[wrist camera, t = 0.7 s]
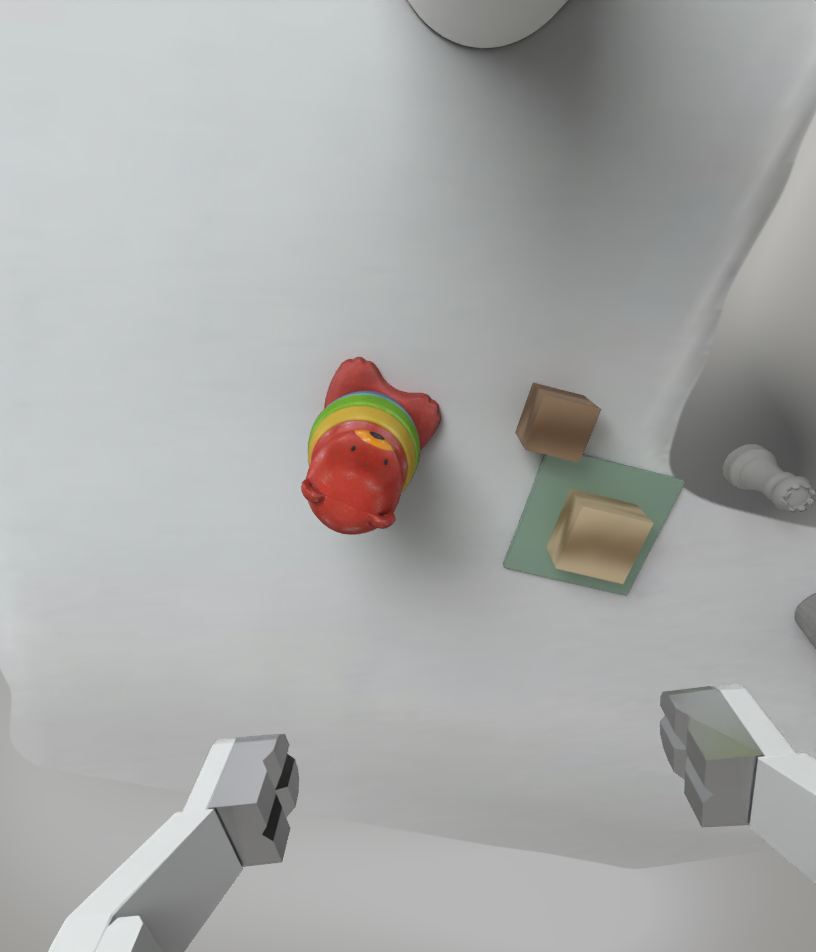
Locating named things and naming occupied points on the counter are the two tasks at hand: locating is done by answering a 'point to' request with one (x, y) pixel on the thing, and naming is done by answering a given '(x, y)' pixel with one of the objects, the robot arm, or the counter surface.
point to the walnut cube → (557, 422)
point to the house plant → (807, 618)
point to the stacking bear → (365, 448)
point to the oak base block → (598, 536)
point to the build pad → (595, 478)
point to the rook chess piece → (767, 478)
